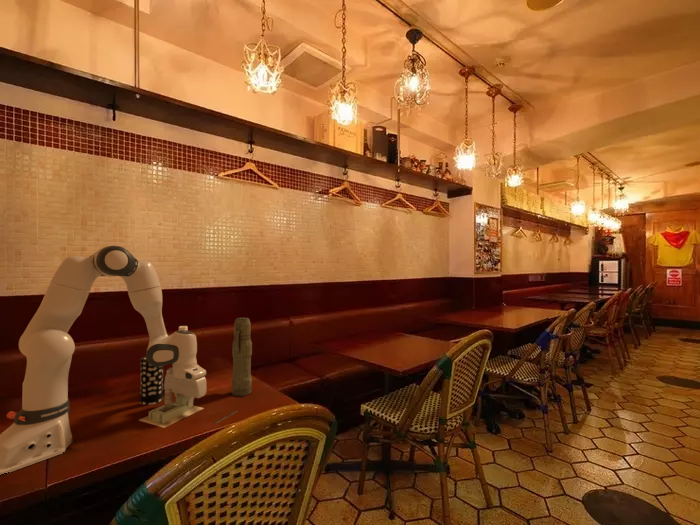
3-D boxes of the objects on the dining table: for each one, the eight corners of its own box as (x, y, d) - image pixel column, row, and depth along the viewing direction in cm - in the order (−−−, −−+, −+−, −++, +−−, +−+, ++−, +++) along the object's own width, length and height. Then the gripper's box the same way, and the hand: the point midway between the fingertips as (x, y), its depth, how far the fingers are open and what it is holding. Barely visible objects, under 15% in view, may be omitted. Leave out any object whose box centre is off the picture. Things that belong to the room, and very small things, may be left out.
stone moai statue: (227, 397, 152) (228, 320, 152) (236, 388, 164) (237, 316, 164) (246, 398, 152) (247, 320, 152) (254, 388, 163) (255, 316, 163)
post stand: (164, 431, 121) (164, 399, 121) (138, 424, 127) (138, 393, 127) (204, 411, 137) (204, 383, 137) (179, 405, 143) (179, 378, 143)
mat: (215, 424, 127) (215, 423, 127) (195, 418, 131) (195, 418, 131) (237, 411, 138) (237, 410, 138) (219, 407, 142) (219, 406, 142)
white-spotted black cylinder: (152, 409, 139) (152, 360, 139) (135, 407, 141) (135, 359, 141) (167, 401, 147) (167, 355, 148) (150, 399, 149) (151, 354, 149)
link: (163, 423, 124) (163, 410, 124) (148, 419, 127) (148, 406, 127) (196, 407, 138) (196, 395, 138) (182, 404, 141) (182, 392, 141)
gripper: (160, 369, 138) (159, 402, 138) (196, 376, 130) (196, 412, 130) (173, 364, 144) (173, 397, 144) (209, 371, 136) (209, 405, 136)
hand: (184, 404), depth 137 cm, fingers closed on link, 4 cm apart
